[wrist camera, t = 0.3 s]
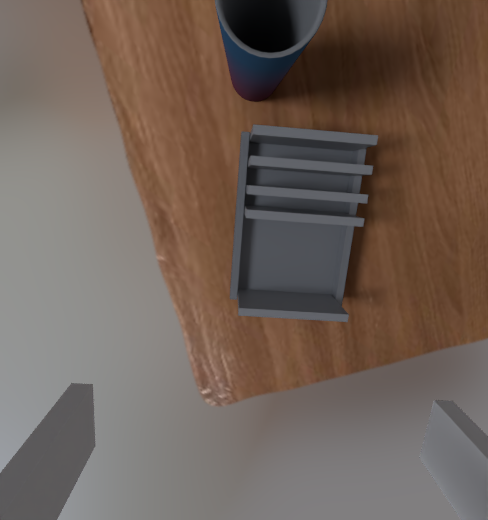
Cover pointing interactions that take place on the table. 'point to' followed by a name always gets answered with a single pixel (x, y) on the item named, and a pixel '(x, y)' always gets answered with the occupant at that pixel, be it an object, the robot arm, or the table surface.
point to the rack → (296, 220)
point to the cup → (265, 40)
